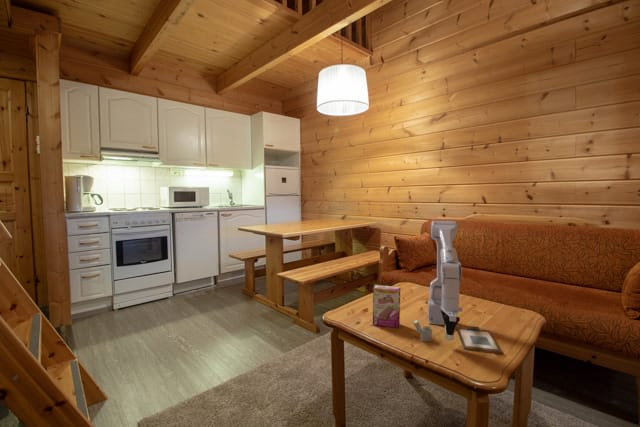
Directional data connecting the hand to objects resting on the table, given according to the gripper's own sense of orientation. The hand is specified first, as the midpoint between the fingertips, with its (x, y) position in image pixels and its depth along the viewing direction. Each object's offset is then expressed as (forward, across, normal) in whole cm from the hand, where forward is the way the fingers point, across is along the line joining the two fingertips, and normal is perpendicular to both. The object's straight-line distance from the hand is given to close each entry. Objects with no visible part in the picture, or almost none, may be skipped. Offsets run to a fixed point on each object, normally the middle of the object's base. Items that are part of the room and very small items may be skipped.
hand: (449, 332), depth 108 cm
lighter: (+6, +3, +9) cm, 11 cm away
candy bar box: (+6, +13, +23) cm, 27 cm away
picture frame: (+6, +8, -11) cm, 15 cm away
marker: (+2, 0, 0) cm, 2 cm away
